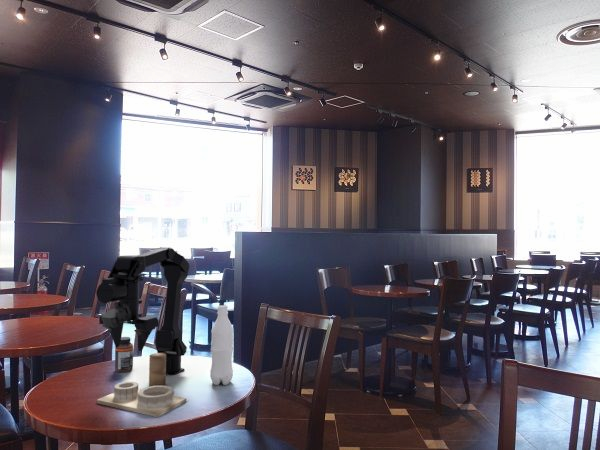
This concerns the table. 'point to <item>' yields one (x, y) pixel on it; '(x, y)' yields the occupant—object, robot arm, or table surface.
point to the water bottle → (222, 348)
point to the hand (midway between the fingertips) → (128, 349)
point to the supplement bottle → (124, 355)
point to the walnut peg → (157, 369)
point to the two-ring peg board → (142, 399)
